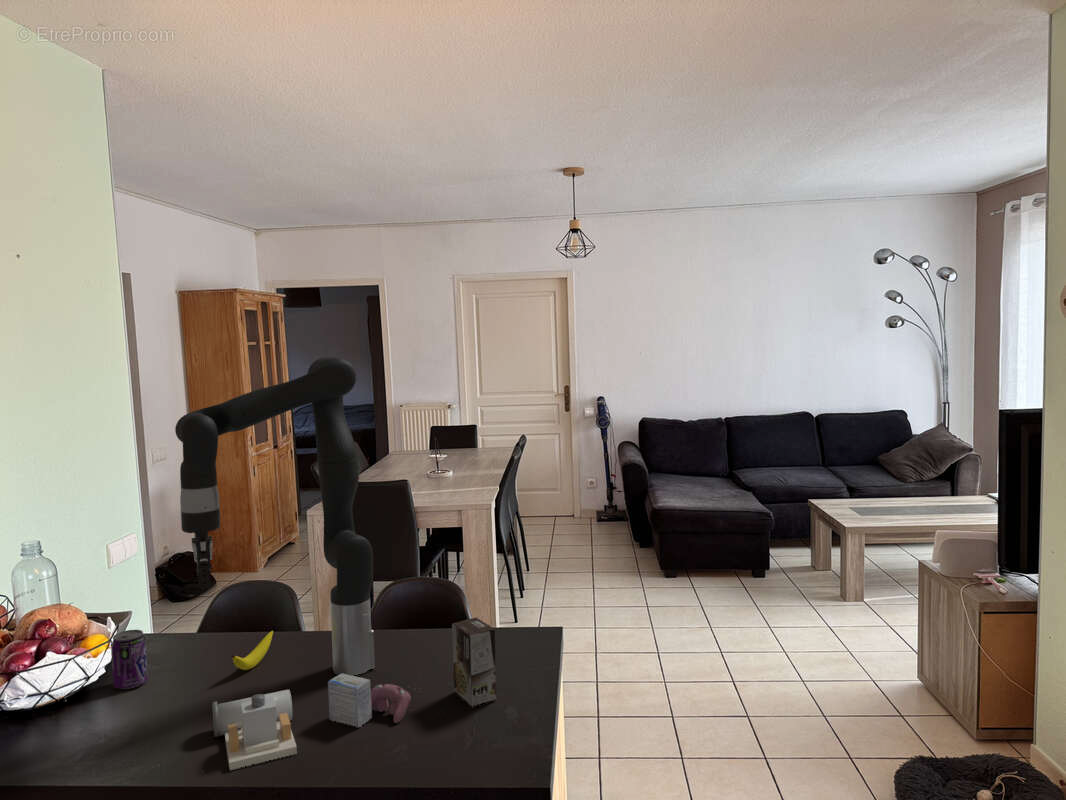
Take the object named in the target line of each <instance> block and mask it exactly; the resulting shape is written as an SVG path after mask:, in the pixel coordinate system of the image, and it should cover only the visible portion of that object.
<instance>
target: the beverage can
mask: <svg viewBox="0 0 1066 800" xmlns="http://www.w3.org/2000/svg"><path fill="white" fill-rule="evenodd" d="M146 640H147V639H146V637H145V636H144V631H143V630H141V629H128V630H124V631H120V632H118V633H116V634H114V635H112V642H111V644H110V650H111V651H110V652H111V669H112V683H113V684H112V685H113V687H114V688H116V689H119V690H131V688H132V689H136V688H138V687H140V686H141V685H143V684H144V683H146V682H147V681H148V678H149V675H148V673H149V672H148V659H147V658H148V657H147V641H146ZM135 687H136V688H135Z"/></svg>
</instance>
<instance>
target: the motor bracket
mask: <svg viewBox="0 0 1066 800" xmlns="http://www.w3.org/2000/svg"><path fill="white" fill-rule="evenodd" d="M263 695H264V696H265V698H269V697H274V701H275V705H276V721H277V740H273V741H269V742H264V743H260V744H256V745H252V746H247V747H245V749H244V743H243V735H242V713H241V703H245V702H250V701H252V700H251V698H252V696H251V697H250V696H249V697H245V698H241V699H236V700H232V701H228V702H226V701H225V702H222V703H218V701H213V702H212V721H213V732H214V734H213V735H214V738H215V737H216V738H217V737H221V736H224V741H225V749H226V755H227V763H228V768H229V769H230V770H229V771H233V770H237V769H242V768H245V766H246V767H251V766H253V765H252V764H254V765H257V764H258V765H259V764H262V763H266V761H267V762H270V761H269V760H271V761H273V760H274V759H275V760H278V758H279V759H282V757H283V758H286V756H287V757H291V756H295V755H297V754H298V748H297V743H296V740H295V737H294V735H293V731H292V728H291V727H292V724H291V722H290V721H291V720H293V701H292V695H291V691H290V689H285V690H280V691H275V692H269V693H265V694H263ZM294 754H295V755H294ZM290 755H291V756H290ZM275 760H274V761H275ZM241 767H242V768H241Z"/></svg>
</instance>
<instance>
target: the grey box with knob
mask: <svg viewBox="0 0 1066 800" xmlns="http://www.w3.org/2000/svg"><path fill="white" fill-rule="evenodd" d="M251 697H252V698H251V700H252V701H250V702H245V703H241V713H242V735H243V743H244V749H245V747H247V746H252V745H256V744H260V743H264V742H269V741H273V740H277V721H276V705H275V701H274V697H269V698H265V696H264V694H263V693H258V694H254V695H252V696H251Z"/></svg>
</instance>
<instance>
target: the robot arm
mask: <svg viewBox="0 0 1066 800" xmlns="http://www.w3.org/2000/svg"><path fill="white" fill-rule="evenodd" d="M356 382H357V372H356V369H355V367H354V366H353V365H352V364H351V363H350V362H349V361H347V360H346V359H342V358H340V357H326V356H325V357H319V358H317V359H315V360H314V361H313V362H312V363H311V364H310V366H309V368H308V370H307V373H306V374H304V375H302V376H299V377H297V378H295V379H291V380H288V381H284V382H281V383H277V384H274V385H270V386H267V387H263V388H259V389H255V390H252V391H250V392H246V393H243V394H241V395H238V396H236V397H233V398H231V399H228V400H226V401H224V402H221V403H219V404H218V403H217V404H214V405H211V406H207V407H203V408H199V409H197V410H194V411H191V412H188V413H186V414H184V415H183V416H181V417H180V418H179V419H178V420H177V422H176V425H175V429H174V430H175V431H174V432H175V435H176V437H177V439H178V441H180V442H181V443H182V462H181V463H180V468H179V469H180V470H179V471H180V472H179V475H180V477H179V478H180V494H179V495H180V497H179V498H180V499H179V502H180V520H181V521H180V522H181V530H182V532H183V533H187V534H193V533H194V537H191V548H192V551H193V558H194V559H193V560H194V562H195V563H196V573H197V578H198V588H199V590H204V589H210V588H211V585H212V584H211V570H212V564H211V560H212V559H213V549H212V548H213V545H214V544H213V537H212V535H209V532H213V531H215V530H216V531H217V530H218V529H219V528H220V527H221V509H220V508H221V507H220V494H219V489H218V473H217V456H218V447H219V436H222V435H225V434H227V433H230V432H231V433H232V432H239V431H242V430H245V429H248V428H251V427H253V426H255V425H258V424H260V423H263V422H265V421H267V420H270V419H272V418H274V417H277V416H279V415H282V414H284V413H286V412H289V411H292V410H294V409H297V408H300V407H303V406H306V405H309V404H311V406H312V407H311V408H312V411H313V416H314V418H313V419H314V427H315V428H314V430H315V431H314V433H315V442H316V443H315V444H316V445H315V446H316V455H317V456H316V457H317V459H316V460H317V467H318V469H317V470H318V478H319V486H320V493H321V494H320V495H321V503H322V504H321V505H322V512H323V542H322V543H323V544H322V545H323V556H324V559H325V561H326V562H327V564H328V565H330V567H332V568H334V569H336V585H334V586H333V587H332V588H331V589H330V615H331V616H330V617H331V620H330V621H331V644H332V645H331V646H332V650H331V651H332V671H334V672H333V674H335V675H337V674H338V675H340V674H347V675H352V676H354V675H357V676H359V675H358V674H361V675H363V674H362V673H364V674H366V673H368V672H369V671H368V670H370V669H373V670H375V669H374V668H375V666H376V665H375V664H376V663H375V643H374V642H375V639H374V635H375V633H374V630H373V629H372V628H373V627H372V619H371V618H372V617H371V615H372V614H371V590H372V588H373V583H374V582H373V581H374V554H373V553H374V552H373V547H372V544H371V543H370V541H369V540H368V539H367V538H366V537H364V536H363V535H360V534H357V533H356V529H355V524H354V517H353V515H354V514H353V508H354V506H353V505H354V500H355V497H356V493H357V489H358V485H359V482H360V481H359V480H360V468H359V458H358V451H357V446H356V444H355V440H354V438H353V437H354V436H353V434H352V432H351V429H350V428H349V427H350V426H349V425H348V422H347V419H346V414H345V406H344V396H345V395H347V394H348V393H350V392H351V391H352V390H353V388H354V387H355V384H356ZM367 671H368V672H367ZM370 671H371V670H370ZM365 672H366V673H365ZM338 675H337V676H338Z"/></svg>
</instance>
